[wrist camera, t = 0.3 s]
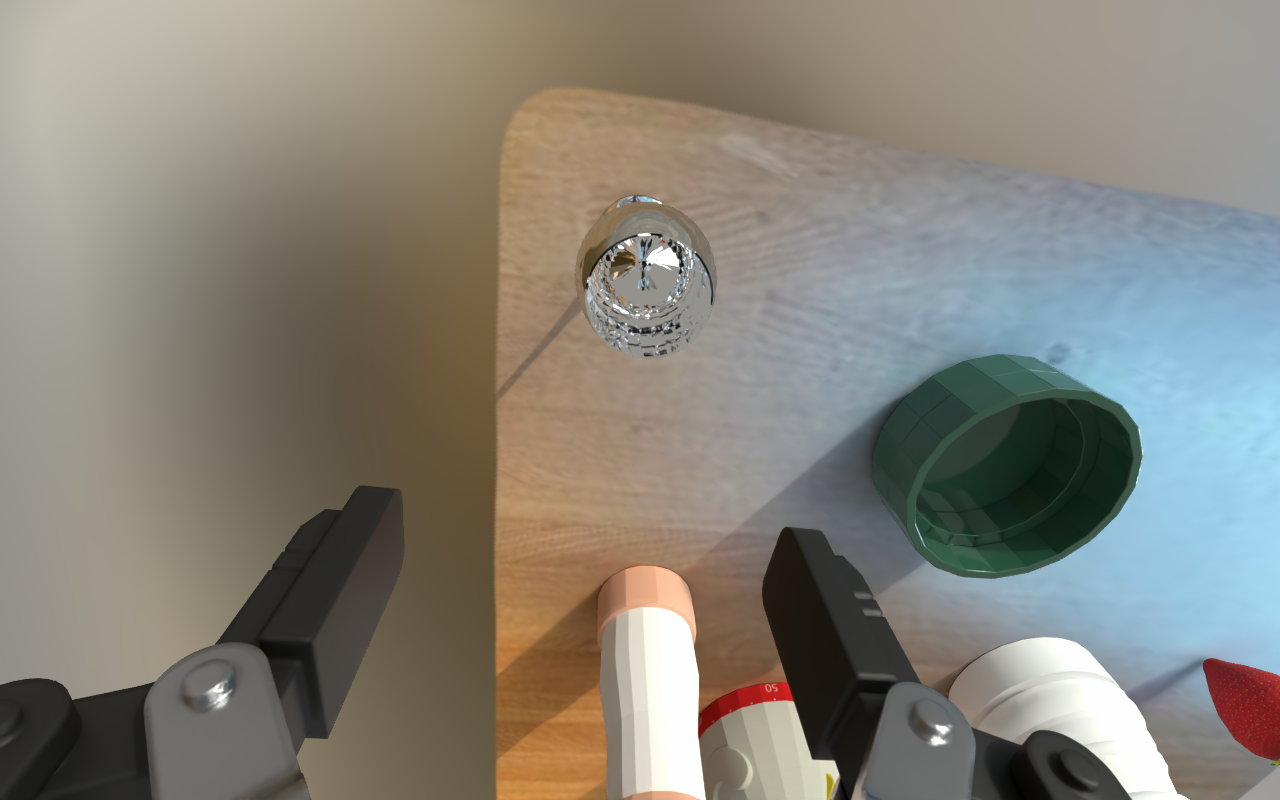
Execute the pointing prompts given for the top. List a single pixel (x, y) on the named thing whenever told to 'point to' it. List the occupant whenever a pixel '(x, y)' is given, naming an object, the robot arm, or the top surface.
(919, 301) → the top surface
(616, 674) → the salt shaker
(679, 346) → the wineglass
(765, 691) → the kitchen timer
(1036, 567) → the green bowl
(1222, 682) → the strawberry
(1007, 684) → the honey pot
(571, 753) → the top surface
